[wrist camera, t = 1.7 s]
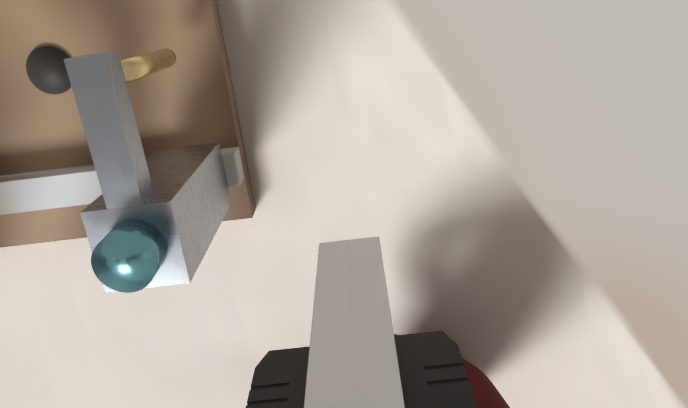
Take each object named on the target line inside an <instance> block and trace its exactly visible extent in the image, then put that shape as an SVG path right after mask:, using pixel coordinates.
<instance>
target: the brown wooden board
mask: <svg viewBox="0 0 688 408" xmlns="http://www.w3.org/2000/svg"><path fill="white" fill-rule="evenodd" d="M164 48H168V49H171V50H172V51H173V52H174V53H175V55H176V62H175V64H174V65H173V66H171V67H169V68H166V69H164V70H161V71H159V72H156V73H154V74H151V75H149V76H146V77H144V78H141V79H139V80H136V81H134V82H131V83H129V84H127V88H128V92H129V96H130V99H131V103H132V107H133V111H134V115H135V119H136V123H137V127H138V131H139V135H140V139H141V143H142V147H143V150H144V154H145V158H146V157H147V156H149V155H150V154H151V153H152V152H153V151H155V150H161V149H169V148H177V147H185V146H193V145H201V144H209V143H217V142H219V145H220V150H221V154H222V159H223V164H224V169H225V174H226V179H227V184H228V189H229V193H230V198H231V205H230V207H229V209H228V211H227V212H226V214H225V216H224V218H223V220H222V221H227V220H236V219H244V218H252V217H253V215H254V212H255V210H256V209H255V204H254V198H253V193H252V188H251V183H250V177H249V172H248V167H247V162H246V156H245V151H244V146H243V140H242V135H241V130H240V125H239V119H238V114H237V109H236V104H235V98H234V93H233V88H232V83H231V77H230V72H229V67H228V61H227V56H226V51H225V46H224V40H223V35H222V30H221V25H220V19H219V14H218V9H217V4H216V0H0V247H8V246H17V245H25V244H34V243H42V242H50V241H59V240H67V239H76V238H84V237H87V234H86V230H85V227H84V224H83V221H82V217H81V214H80V212H81V211H82V210H83V209H85V208H86V207H87V206H88V205H89V204H91V203H92V202H93V201H94V200H96V199H97V198H98V197H99V196H100V195H102V190H101V187H100V184H99V180H98V177H97V173H96V170H95V166H94V163H93V159H92V156H91V152H90V149H89V146H88V142H87V139H86V135H85V132H84V128H83V125H82V121H81V118H80V114H79V111H78V108H77V104H76V101H75V97H74V94H73V90H72V87H71V83H70V80H69V76H68V73H67V69H66V66H65V63H64V59H67V58H72V57H76V56H81V55H88V54H96V53H104V52H111V51H118V52H119V56H120V60H125V59H129V58H132V57H136V56H139V55H143V54H146V53H150V52H153V51H157V50H160V49H164Z"/></svg>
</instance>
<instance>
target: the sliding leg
mask: <svg viewBox="0 0 688 408" xmlns="http://www.w3.org/2000/svg"><path fill="white" fill-rule="evenodd" d="M175 62H176V55H175V53H174V52H173V51H172V50H171V49H168V48H164V49H160V50H157V51H153V52H150V53H146V54H143V55H139V56H136V57H132V58H129V59H125V60H120V56H119V52H118V51H111V52H104V53H96V54H88V55H81V56H76V57H72V58H67V59H64V63H65V66H66V69H67V73H68V76H69V80H70V83H71V87H72V90H73V94H74V97H75V101H76V104H77V108H78V111H79V114H80V118H81V121H82V125H83V128H84V132H85V135H86V139H87V142H88V146H89V149H90V152H91V156H92V159H93V163H94V166H95V170H96V173H97V177H98V180H99V184H100V187H101V190H102V195H100V196H99V197H98V198H97V199H96V200H94V201H93V202H92V203H91V204H89V205H88V206H87V207H86V208H85V209H83V210H82V211H81V212H80V214H81V217H82V221H83V224H84V227H85V230H86V234H87V237H88V240H89V243H90V247H91V250H92V257H91V263H92V268H93V271H94V273H95V275H96V276H97V278H98V279H99V280H100V281H101V282H102V286H103V289H104V292H105V293H106V292H115V291H119V292H136V291H139V290H141V289H143V288H150V287H158V286H167V285H176V284H184V283H190V282H191V280H192V278H193V276H194V274H195V272H196V270H197V268H198V266H199V265H200V263H201V261H202V259H203V257H204V255H205V253H206V251H207V249H208V247H209V245H210V243H211V241H212V239H213V238H214V236H215V234H216V232H217V230H218V228H219V226H220V224H221V222H222V220H223V218H224V216H225V214H226V212H227V211H228V209H229V207H230V205H231V198H230V193H229V189H228V184H227V179H226V174H225V169H224V164H223V159H222V154H221V150H220V145H219V142H217V143H209V144H201V145H193V146H185V147H177V148H169V149H161V150H155V151H153V152H152V153H151V154H150V155H149V156H147V157H146V158H145V154H144V150H143V147H142V143H141V139H140V135H139V131H138V127H137V123H136V119H135V115H134V111H133V107H132V103H131V99H130V96H129V92H128V88H127V84H129V83H131V82H134V81H136V80H139V79H141V78H144V77H146V76H149V75H151V74H154V73H156V72H159V71H161V70H164V69H166V68H169V67H171V66H173V65H174V64H175Z"/></svg>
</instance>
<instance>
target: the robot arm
mask: <svg viewBox="0 0 688 408" xmlns="http://www.w3.org/2000/svg"><path fill="white" fill-rule="evenodd" d="M246 408H478V406H477V403H476V400H475V397H474V394H473V391H472V388H471V385H470V382H469V381H468V376H467V373H466V370H465V367H464V365H463V361H462V358H461V355H460V352H459V349H458V346H457V344H456V343H455V342H453V341H452V340H451V339H450V338H449V337H448V336H447V335H446V334H445V333H444V332H443V331H437V332H427V333H418V334H408V335H399V336H394V333H393V327H392V320H391V313H390V307H389V300H388V294H387V287H386V280H385V274H384V267H383V260H382V254H381V247H380V241H379V237H372V238H363V239H354V240H345V241H336V242H327V243H319V254H318V264H317V275H316V286H315V296H314V307H313V317H312V328H311V338H310V347H302V348H292V349H283V350H273V351H269V352H268V353H267V354H266V355H265V357H264V358H263V359H262V360H261V361H260V363H259V364H258V365H257V366H256V368H255V371H254V375H253V380H252V384H251V390H250V392H249V397H248V401H247V406H246Z"/></svg>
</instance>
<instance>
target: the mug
mask: <svg viewBox="0 0 688 408" xmlns="http://www.w3.org/2000/svg"><path fill="white" fill-rule="evenodd" d="M394 336H399V335H396V334H394ZM462 361H463V365H464V367H465V370H466V373H467V376H468V381H469V382H470V385H471V388H472V391H473V394H474V397H475V400H476V403H477V406H478V408H510V407H509V406H508V404H507V403H506V402H505V400H504V399H503V397H502V396H501V395H500V393H499V392H498V391H497V389H496V388H495V386H494V385H493V384H492V382H491V381H490V380H489V379H488V377H487V376H486V375H485V374H484V373H483V372H482V371H480V370H479V369H478V368H477V367H475V366H474V365H472V364H471V363H469V362H468V361H466V360H464V359H462Z"/></svg>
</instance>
